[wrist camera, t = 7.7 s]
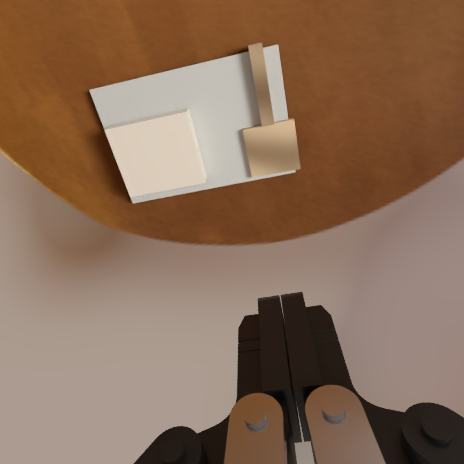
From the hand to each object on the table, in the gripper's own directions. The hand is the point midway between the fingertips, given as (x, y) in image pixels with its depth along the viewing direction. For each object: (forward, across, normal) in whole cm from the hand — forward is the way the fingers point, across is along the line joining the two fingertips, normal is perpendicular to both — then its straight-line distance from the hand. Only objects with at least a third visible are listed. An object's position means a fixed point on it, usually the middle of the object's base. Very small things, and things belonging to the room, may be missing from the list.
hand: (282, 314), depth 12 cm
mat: (+27, +6, -1) cm, 27 cm away
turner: (+26, -1, -1) cm, 26 cm away
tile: (+25, +6, 0) cm, 26 cm away
